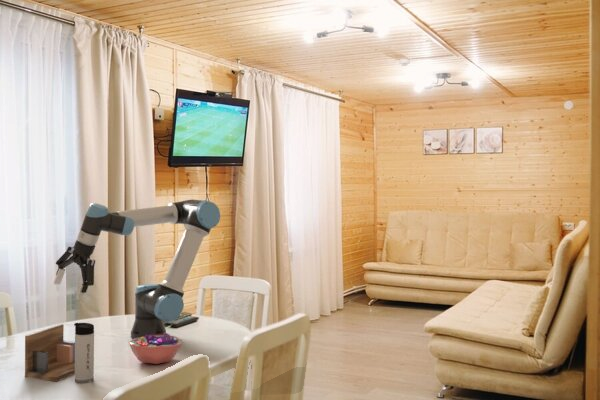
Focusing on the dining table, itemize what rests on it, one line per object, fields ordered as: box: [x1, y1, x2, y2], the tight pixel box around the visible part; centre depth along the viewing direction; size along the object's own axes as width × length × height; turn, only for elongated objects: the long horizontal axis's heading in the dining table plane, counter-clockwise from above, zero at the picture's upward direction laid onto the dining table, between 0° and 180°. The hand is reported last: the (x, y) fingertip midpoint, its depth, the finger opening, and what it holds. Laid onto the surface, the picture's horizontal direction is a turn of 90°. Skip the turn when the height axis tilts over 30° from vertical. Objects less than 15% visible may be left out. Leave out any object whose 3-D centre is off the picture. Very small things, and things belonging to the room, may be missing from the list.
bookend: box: [28, 350, 48, 375], centre depth 216 cm, size 6×3×7 cm, turn 71°
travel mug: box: [73, 322, 95, 384], centre depth 214 cm, size 6×7×20 cm
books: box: [57, 339, 75, 363], centre depth 230 cm, size 6×4×7 cm, turn 71°
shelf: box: [24, 323, 75, 383], centre depth 222 cm, size 14×18×14 cm
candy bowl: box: [128, 332, 183, 365], centre depth 236 cm, size 17×20×11 cm
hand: (67, 291), depth 242 cm, fingers open, 13 cm apart
